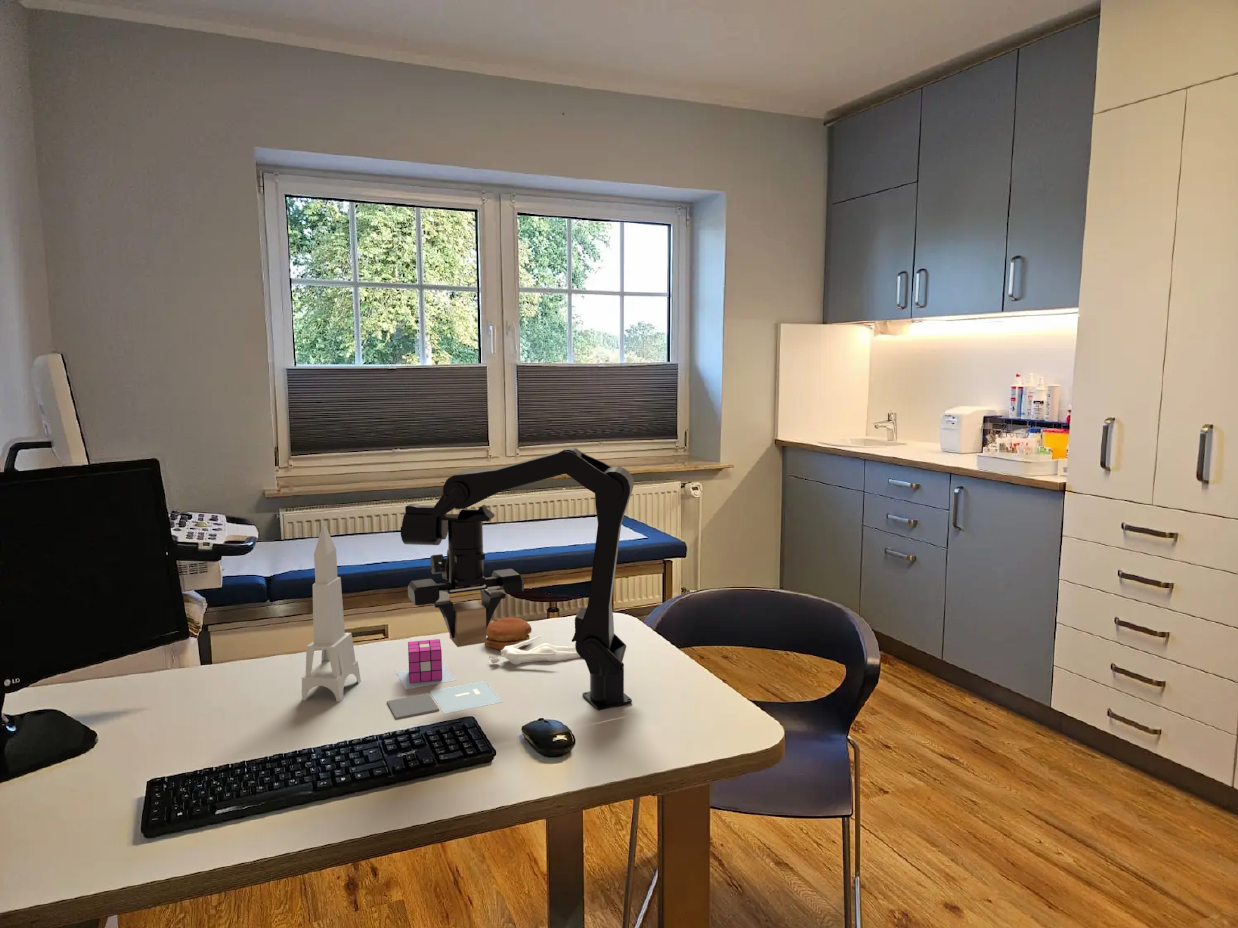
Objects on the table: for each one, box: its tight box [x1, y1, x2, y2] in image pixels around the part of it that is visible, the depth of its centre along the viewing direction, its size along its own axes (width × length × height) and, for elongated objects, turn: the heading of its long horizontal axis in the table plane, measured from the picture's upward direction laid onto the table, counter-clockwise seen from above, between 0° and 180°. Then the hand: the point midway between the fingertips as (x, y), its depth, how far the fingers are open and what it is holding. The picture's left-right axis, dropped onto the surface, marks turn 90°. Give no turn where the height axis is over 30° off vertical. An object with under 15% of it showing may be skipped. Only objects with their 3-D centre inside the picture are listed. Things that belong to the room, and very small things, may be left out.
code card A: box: [429, 680, 504, 715], centre depth 138 cm, size 10×10×1 cm
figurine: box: [488, 634, 581, 665], centre depth 157 cm, size 10×4×25 cm
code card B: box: [395, 662, 457, 691], centre depth 147 cm, size 9×9×1 cm
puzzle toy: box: [407, 638, 443, 683], centre depth 147 cm, size 6×6×6 cm
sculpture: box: [301, 522, 362, 703], centre depth 139 cm, size 7×8×30 cm
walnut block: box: [449, 599, 487, 648], centre depth 138 cm, size 5×5×6 cm
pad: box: [386, 692, 440, 720], centre depth 134 cm, size 7×7×1 cm
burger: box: [484, 617, 533, 651], centre depth 164 cm, size 10×9×5 cm
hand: (467, 634), depth 138 cm, fingers closed on walnut block, 5 cm apart
